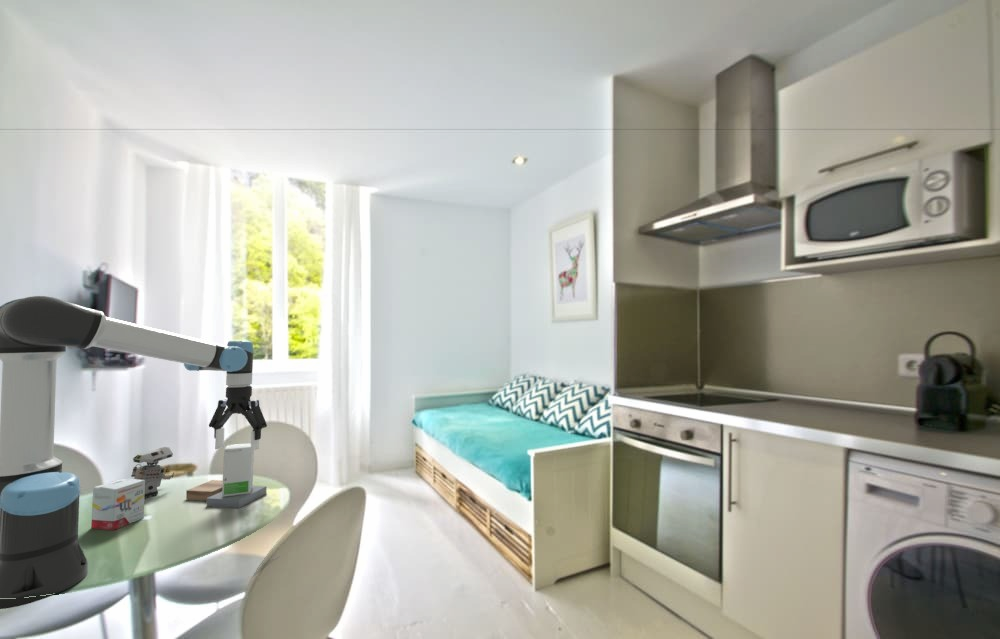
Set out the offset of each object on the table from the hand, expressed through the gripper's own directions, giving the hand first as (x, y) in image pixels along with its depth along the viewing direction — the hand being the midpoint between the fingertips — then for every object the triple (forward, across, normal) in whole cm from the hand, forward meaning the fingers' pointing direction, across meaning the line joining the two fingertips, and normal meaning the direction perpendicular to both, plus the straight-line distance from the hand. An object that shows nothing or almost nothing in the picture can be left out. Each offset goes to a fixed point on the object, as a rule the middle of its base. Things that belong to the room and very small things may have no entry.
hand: (236, 449), depth 137 cm
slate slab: (+17, 0, -1) cm, 17 cm away
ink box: (+18, +22, +19) cm, 34 cm away
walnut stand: (+17, +13, -4) cm, 22 cm away
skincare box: (+15, 0, -1) cm, 15 cm away
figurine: (+18, +36, -3) cm, 40 cm away
